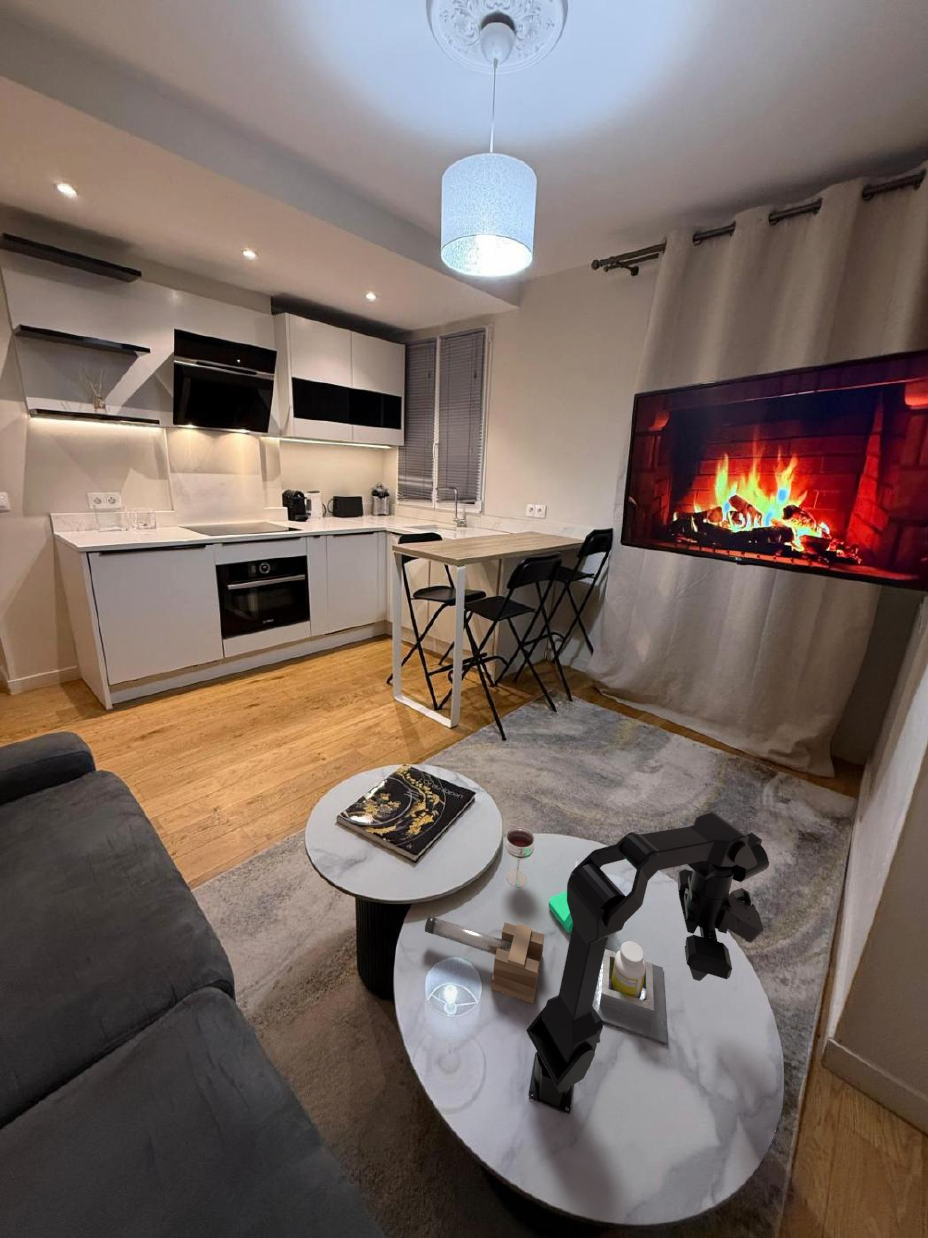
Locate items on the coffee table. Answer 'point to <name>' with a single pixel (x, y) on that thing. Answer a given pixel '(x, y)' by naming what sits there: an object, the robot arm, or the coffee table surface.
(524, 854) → the wineglass
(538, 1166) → the coffee table surface
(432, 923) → the pin
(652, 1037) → the socket
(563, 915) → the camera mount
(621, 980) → the supplement bottle
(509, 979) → the mount
